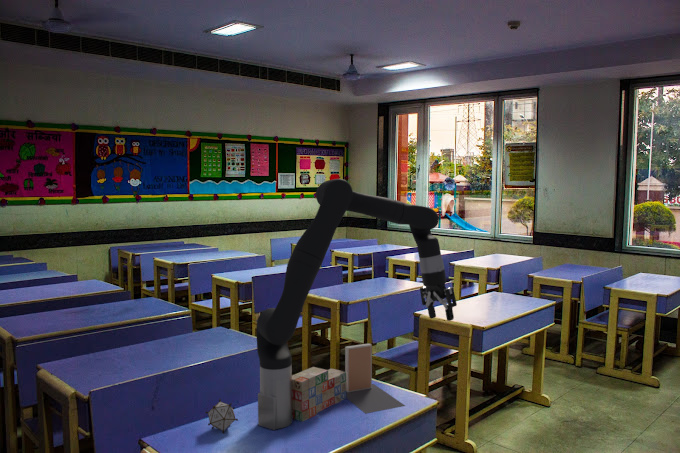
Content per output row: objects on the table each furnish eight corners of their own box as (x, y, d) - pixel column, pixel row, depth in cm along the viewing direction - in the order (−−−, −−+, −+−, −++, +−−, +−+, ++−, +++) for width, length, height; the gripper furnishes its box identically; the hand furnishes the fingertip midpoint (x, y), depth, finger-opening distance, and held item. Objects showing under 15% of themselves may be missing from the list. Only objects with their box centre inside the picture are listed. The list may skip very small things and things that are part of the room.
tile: (345, 390, 183) (345, 346, 181) (369, 386, 186) (369, 343, 185) (348, 392, 181) (347, 348, 180) (372, 388, 184) (372, 344, 183)
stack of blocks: (332, 395, 180) (331, 359, 179) (346, 400, 176) (346, 362, 175) (286, 417, 163) (286, 376, 162) (302, 422, 159) (301, 381, 158)
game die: (218, 440, 156) (214, 405, 161) (244, 431, 155) (239, 396, 160) (202, 436, 149) (198, 400, 154) (229, 427, 147) (225, 391, 152)
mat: (336, 391, 183) (336, 390, 183) (373, 385, 189) (373, 383, 189) (365, 415, 164) (365, 413, 164) (405, 407, 170) (405, 405, 170)
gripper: (409, 272, 179) (418, 320, 180) (438, 272, 167) (447, 324, 167) (427, 267, 183) (436, 314, 183) (456, 267, 170) (465, 317, 171)
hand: (441, 319), depth 175 cm, fingers open, 8 cm apart
